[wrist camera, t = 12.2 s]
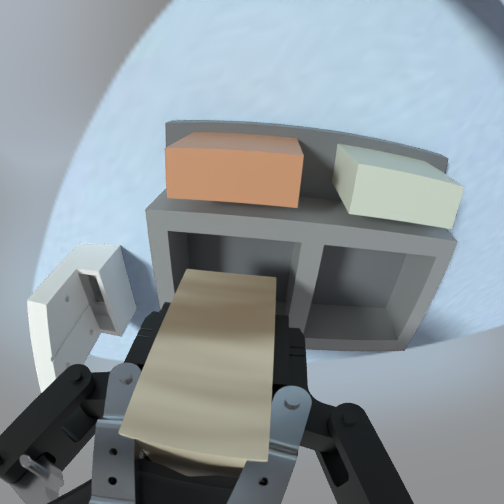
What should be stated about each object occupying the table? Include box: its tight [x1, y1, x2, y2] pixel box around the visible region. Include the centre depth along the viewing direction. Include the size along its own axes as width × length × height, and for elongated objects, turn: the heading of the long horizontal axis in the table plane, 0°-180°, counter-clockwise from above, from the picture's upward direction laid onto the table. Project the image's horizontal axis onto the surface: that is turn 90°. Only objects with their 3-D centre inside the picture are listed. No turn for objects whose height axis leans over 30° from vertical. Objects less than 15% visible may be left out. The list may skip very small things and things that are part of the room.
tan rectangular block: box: [118, 269, 276, 477], centre depth 10 cm, size 4×4×8 cm
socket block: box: [145, 120, 464, 351], centre depth 14 cm, size 12×15×5 cm
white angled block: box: [27, 243, 137, 393], centre depth 17 cm, size 4×10×9 cm, turn 179°
